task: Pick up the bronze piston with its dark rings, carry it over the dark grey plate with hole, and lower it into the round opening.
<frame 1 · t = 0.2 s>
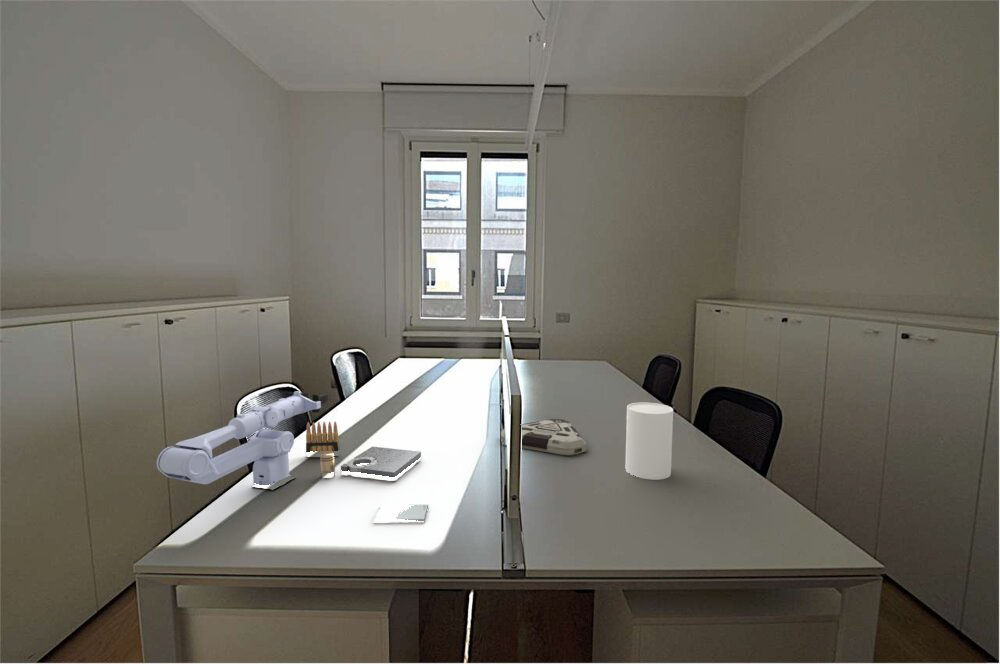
hand: (317, 396, 159), 21 cm above the table, tool horizontal, fingers open, 7 cm apart
hard drive: (401, 518, 123), on the table
grey plate with hole: (382, 467, 154), on the table
ammunition clip: (323, 456, 164), on the table
canister: (647, 471, 151), on the table
device: (548, 441, 181), on the table
piston: (328, 476, 147), on the table
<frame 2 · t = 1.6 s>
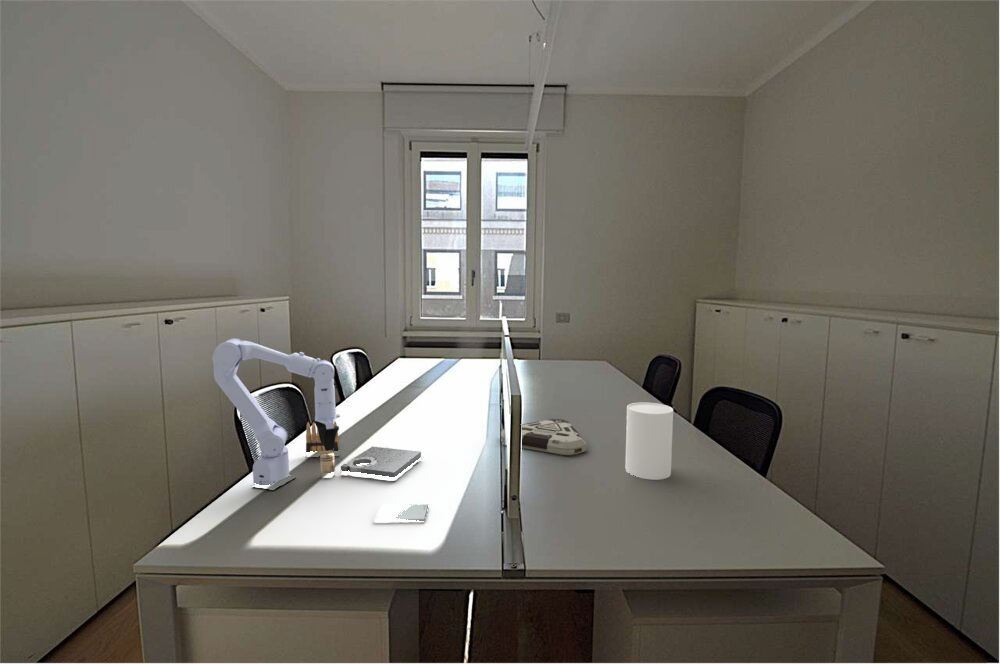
hand: (326, 446, 146), 9 cm above the table, tool pointing down, fingers open, 7 cm apart
nothing on the table moved.
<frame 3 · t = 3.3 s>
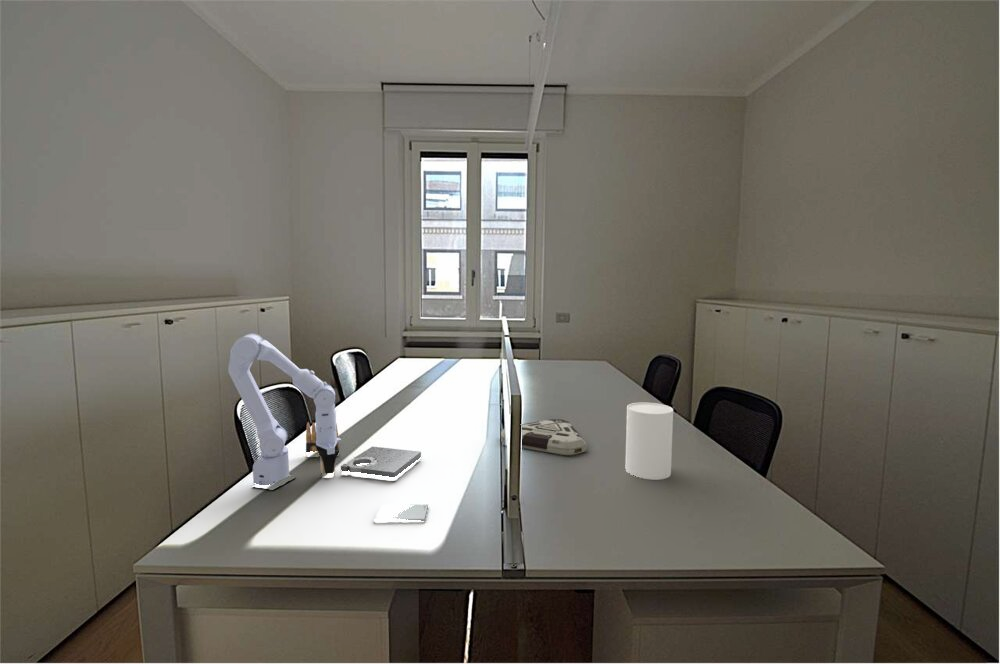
hand: (327, 470, 147), 2 cm above the table, tool pointing down, fingers closed on piston, 4 cm apart
piston: (328, 476, 147), on the table, touching gripper
everything else where it was.
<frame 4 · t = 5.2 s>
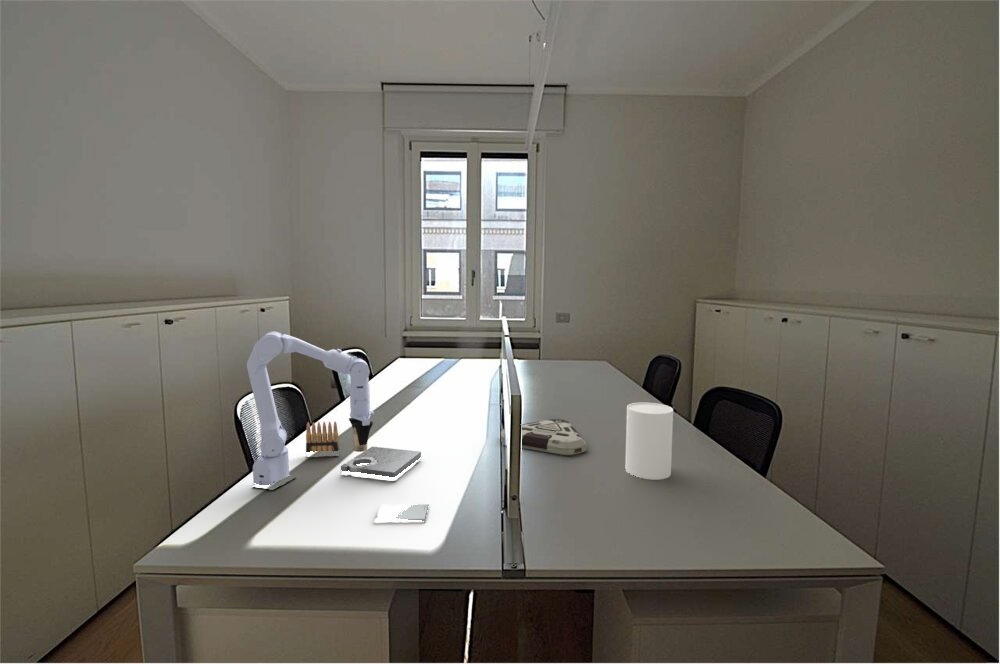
hand: (361, 442, 150), 9 cm above the table, tool pointing down, fingers closed on piston, 4 cm apart
piston: (360, 449, 150), point 7 cm above the table, touching gripper
everything else where it was.
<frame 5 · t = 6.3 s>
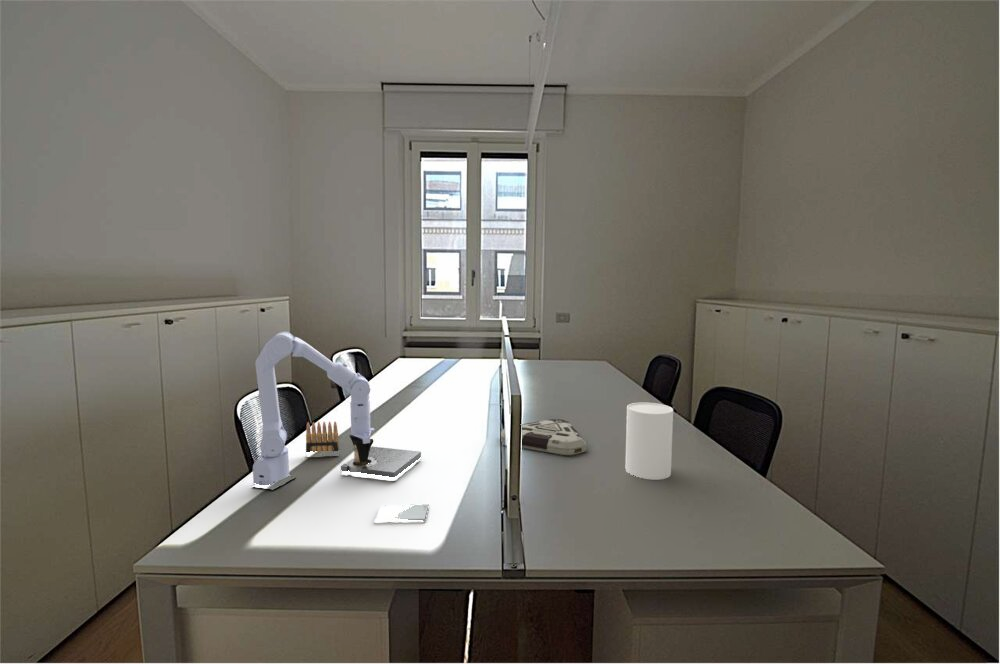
hand: (361, 459, 150), 4 cm above the table, tool pointing down, fingers closed on piston, 4 cm apart
piston: (361, 466, 150), point 2 cm above the table, touching gripper
everything else where it was.
when the fingers open (4 cm above the table, at t = 7.0 s): piston drops 2 cm, resting in grey plate with hole.
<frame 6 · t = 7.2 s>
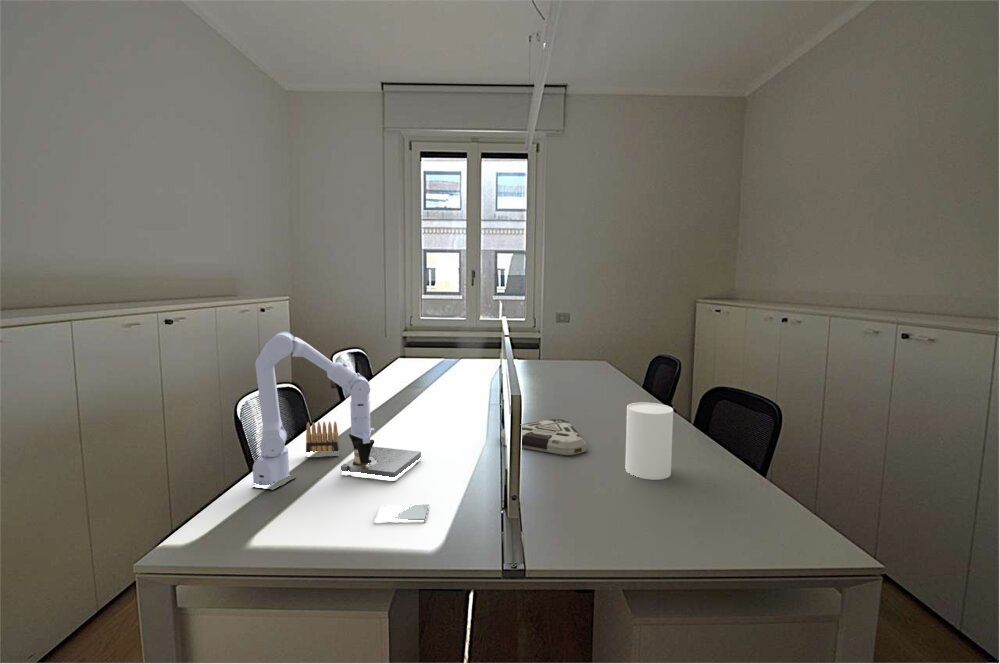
hand: (361, 459, 150), 4 cm above the table, tool pointing down, fingers open, 6 cm apart
piston: (361, 471, 151), resting in grey plate with hole
everything else where it was.
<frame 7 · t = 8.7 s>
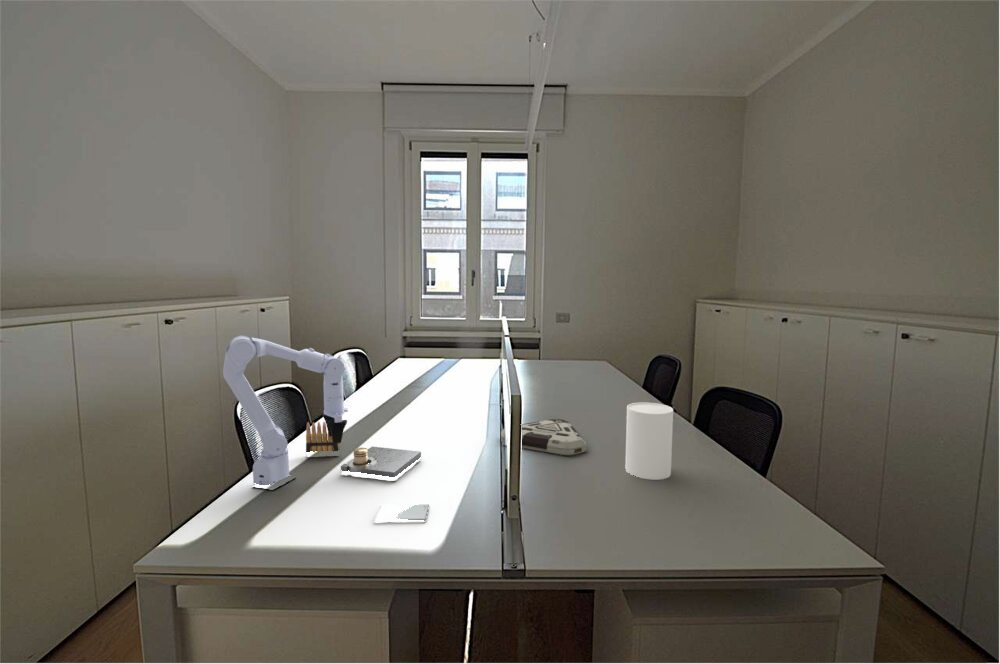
hand: (334, 439, 150), 10 cm above the table, tool pointing down, fingers open, 7 cm apart
nothing on the table moved.
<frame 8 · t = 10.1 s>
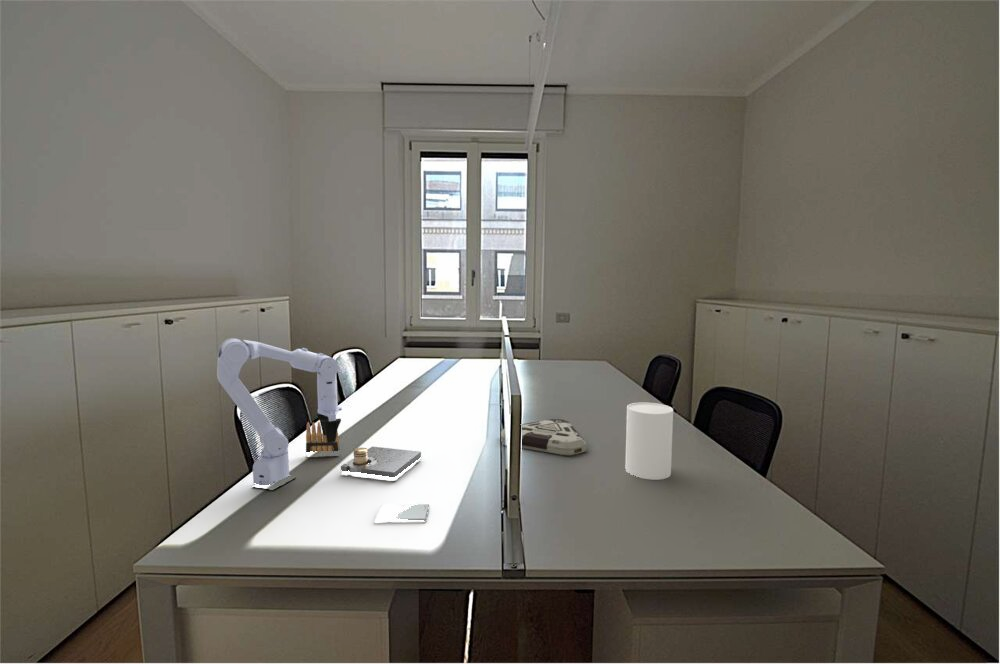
hand: (329, 438, 151), 10 cm above the table, tool pointing down, fingers open, 7 cm apart
nothing on the table moved.
at the end: piston 0.3 cm from the target spot on the grey plate with hole, point 0.0 cm above the grey plate with hole's base; piston tilted 0°; the gripper is holding nothing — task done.
